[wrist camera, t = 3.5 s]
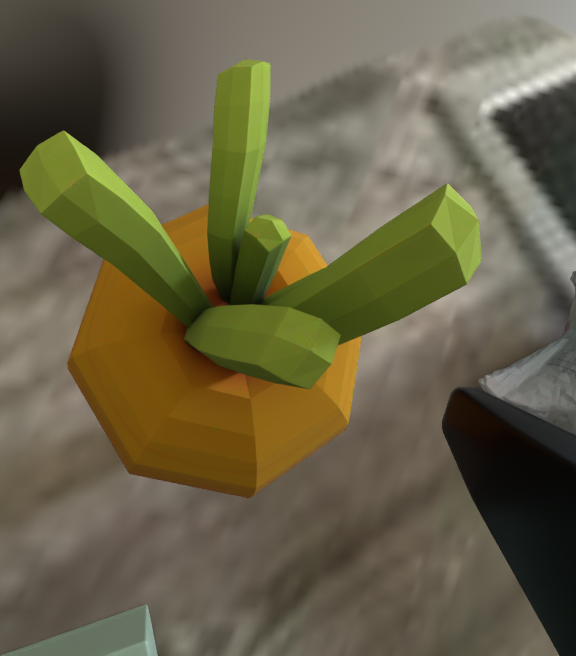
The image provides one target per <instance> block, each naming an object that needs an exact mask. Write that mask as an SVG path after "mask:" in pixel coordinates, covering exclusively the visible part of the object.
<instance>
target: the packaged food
mask: <svg viewBox="0 0 576 656" xmlns="http://www.w3.org/2000/svg"><path fill="white" fill-rule="evenodd" d="M570 280H571V281H572V282H573V283H574V286H575V299H574V300H573V301H572V303H571V310H570V313H569V317H568V321H567V324H566V327H565V330H564V332H563V335H562V336H561V338H559V339H557V340H556V341H554V342H552V343H550V344H549V345H547V346H545V347H543V348H541V349H539V350H538V351H536V352H534V353H532V354H531V355H529V356H527V357H525V358H523V359H521V360H519V361H517V362H515V363H513V364H512V365H511V366H509V367H508V368H503V369H499V370H495V371H494V372H493V374H490V375H485V376H484V378H480V379H479V381H478V382H479V384H480V386H481V388H482V389H483V390H484V391H485V392H487V393H489V394H491V395H493V396H495V397H497V398H499V399H501V400H503V401H506V402H508V403H510V404H512V405H514V406H516V407H518V408H520V409H522V410H524V411H526V412H528V413H530V414H532V415H535V416H537V417H539V418H541V419H543V420H545V421H547V422H549V423H551V424H553V425H555V426H557V427H559V428H562V429H564V430H566V431H568V432H570V433H572V434H574V435H576V271H574V272H573V274H572V276H571V278H570Z"/></svg>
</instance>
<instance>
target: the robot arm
mask: <svg viewBox="0 0 576 656" xmlns="http://www.w3.org/2000/svg"><path fill="white" fill-rule="evenodd" d="M442 429H443V433H444V436H445V438H446V440H447V443H448V445H449V447H450V449H451V452H452V454H453V456H454V459H455V461H456V463H457V465H458V468H459V470H460V472H461V475H462V477H463V479H464V482H465V484H466V486H467V488H468V491H469V493H470V495H471V497H472V499H473V501H474V503H475V505H476V507H477V509H478V511H479V512H480V514H481V516H482V518H483V519H484V521H485V523H486V525H487V527H488V528H489V530H490V532H491V534H492V536H493V537H494V539H495V541H496V543H497V545H498V546H499V548H500V550H501V552H502V553H503V555H504V557H505V559H506V561H507V562H508V564H509V566H510V568H511V570H512V571H513V573H514V575H515V577H516V578H517V580H518V582H519V584H520V586H521V587H522V589H523V591H524V593H525V595H526V596H527V598H528V600H529V602H530V604H531V605H532V607H533V609H534V611H535V612H536V614H537V616H538V618H539V620H540V621H541V623H542V625H543V627H544V629H545V630H546V632H547V634H548V636H549V637H550V639H551V641H552V643H553V645H554V646H555V648H556V650H557V652H558V654H559V655H560V656H576V435H574V434H572V433H570V432H568V431H566V430H564V429H562V428H559V427H557V426H555V425H553V424H551V423H549V422H547V421H545V420H543V419H541V418H539V417H537V416H535V415H532V414H530V413H528V412H526V411H524V410H522V409H520V408H518V407H516V406H514V405H512V404H510V403H508V402H506V401H503V400H501V399H499V398H497V397H495V396H493V395H491V394H489V393H487V392H485V391H483V390H481V389H479V388H476V387H458V388H456V389H454V390H453V391H452V392H451V395H450V398H449V401H448V404H447V407H446V410H445V413H444V416H443V420H442Z"/></svg>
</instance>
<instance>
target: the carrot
mask: <svg viewBox="0 0 576 656" xmlns="http://www.w3.org/2000/svg"><path fill="white" fill-rule="evenodd" d="M269 106H270V64H269V63H267V62H264V61H255V60H243V61H242V62H240V63H238V64H236V65H234V66H233V67H231V68H229V69H227V70H225V71H224V72H222V73H220V74H218V79H217V88H216V97H215V106H214V125H213V148H212V162H211V176H210V190H209V205H206V206H204V207H201V208H199V209H197V210H195V211H192V212H190V213H188V214H186V215H183V216H181V217H179V218H177V219H174V220H172V221H170V222H168V223H165V224H163V225H161V224H160V222H159V221H158V219H157V218H156V216H155V215H154V213H153V212H152V211H151V210H150V208H149V207H148V206H147V205H146V204H145V203H144V202H143V201H142V200H141V199H140V198H139V197H138V196H137V195H136V194H135V193H134V192H133V191H132V190H131V189H130V188H129V187H128V186H127V185H126V184H125V183H124V182H123V181H122V180H121V179H120V178H119V177H118V176H117V175H116V174H115V173H114V172H113V171H112V170H111V169H110V168H109V167H108V166H107V165H106V164H105V163H104V162H103V161H102V160H101V159H100V158H99V157H98V156H97V155H96V154H95V153H93V152H92V151H90V150H89V149H88V148H87V147H85V146H84V145H82V144H81V143H80V142H78V141H77V140H76V139H74V138H73V137H72V136H70V135H69V134H68V133H66V132H65V131H62V132H60V133H58V134H57V135H55V136H53V137H51V138H50V139H48V140H46V141H45V142H43V143H41V144H39V145H38V146H37V147H36V148H35V149H34V151H33V153H32V154H31V155H30V156H29V158H28V159H27V161H26V162H25V163H24V165H23V166H22V167H21V169H20V174H21V178H22V182H23V186H24V190H25V192H26V194H27V195H28V197H29V198H30V199H31V201H32V202H33V204H34V205H35V206H36V208H37V209H38V210H39V212H40V213H41V214H42V215H43V216H44V217H46V218H47V219H48V220H50V221H51V222H52V223H54V224H55V225H56V226H57V227H59V228H60V229H61V230H63V231H64V232H65V233H67V234H68V235H69V236H71V237H72V238H73V239H75V240H76V241H78V242H79V243H81V244H82V245H84V246H85V247H87V248H88V249H90V250H91V251H93V252H94V253H96V254H97V255H99V256H100V257H102V258H103V259H104V260H103V262H102V265H101V268H100V271H99V274H98V277H97V280H96V283H95V285H94V288H93V291H92V294H91V297H90V300H89V303H88V305H87V308H86V311H85V314H84V317H83V320H82V323H81V326H80V328H79V331H78V334H77V337H76V340H75V343H74V346H73V348H72V351H71V354H70V357H69V360H68V363H67V365H68V370H69V371H70V373H71V375H72V376H73V378H74V380H75V382H76V383H77V385H78V387H79V388H80V390H81V392H82V394H83V395H84V397H85V399H86V400H87V402H88V404H89V406H90V407H91V409H92V411H93V412H94V414H95V416H96V418H97V419H98V421H99V423H100V424H101V426H102V428H103V429H104V431H105V433H106V435H107V436H108V438H109V440H110V441H111V443H112V445H113V447H114V448H115V450H116V452H117V453H118V455H119V457H120V459H121V460H122V462H123V464H124V465H125V467H126V469H127V471H128V472H129V474H133V475H138V476H143V477H148V478H153V479H158V480H163V481H168V482H173V483H177V484H182V485H187V486H192V487H197V488H202V489H207V490H212V491H217V492H222V493H226V494H231V495H236V496H241V497H246V498H250V497H252V496H254V495H255V494H256V493H258V492H259V491H261V490H262V489H263V488H265V487H266V486H268V485H269V484H270V483H272V482H273V481H275V480H276V479H277V478H279V477H280V476H282V475H283V474H284V473H286V472H287V471H289V470H290V469H291V468H293V467H294V466H296V465H297V464H298V463H300V462H301V461H303V460H304V459H305V458H307V457H308V456H310V455H311V454H312V453H314V452H315V451H317V450H318V449H319V448H321V447H322V446H324V445H325V444H326V443H328V442H329V441H331V440H332V439H333V438H335V437H336V436H338V435H339V434H340V433H342V432H343V431H345V430H346V428H347V426H348V423H349V417H350V411H351V404H352V398H353V391H354V384H355V378H356V371H357V364H358V358H359V351H360V344H361V338H362V335H365V334H367V333H369V332H372V331H374V330H376V329H379V328H381V327H383V326H386V325H388V324H391V323H393V322H395V321H398V320H400V319H402V318H404V317H406V316H408V315H410V314H411V313H413V312H415V311H417V310H419V309H421V308H423V307H425V306H427V305H429V304H430V303H432V302H434V301H436V300H438V299H440V298H442V297H444V296H446V295H447V294H449V293H451V292H453V291H455V290H457V289H459V288H461V287H463V286H465V285H466V284H467V283H468V282H469V280H470V278H471V277H472V275H473V274H474V272H475V270H476V269H477V267H478V266H479V264H480V262H481V261H482V259H481V245H480V230H479V220H478V218H477V216H476V214H475V213H474V211H473V209H472V207H471V206H470V205H469V204H468V203H467V202H466V201H465V200H464V199H463V198H462V197H461V196H460V195H459V194H458V193H457V192H456V191H455V190H454V189H453V188H452V187H451V186H450V185H449V184H448V183H447V184H445V185H444V186H442V187H441V188H439V189H438V190H436V191H435V192H433V193H432V194H430V195H429V196H427V197H426V198H424V199H423V200H421V201H420V202H418V203H417V204H415V205H414V206H412V207H411V208H409V209H408V210H406V211H404V212H403V213H401V214H400V215H398V216H397V217H395V218H394V219H392V220H391V221H389V222H388V223H386V224H385V225H383V226H382V227H380V228H379V229H378V230H376V231H375V232H374V233H372V234H371V235H369V236H368V237H367V238H365V239H364V240H363V241H361V242H360V243H358V244H357V245H356V246H354V247H353V248H352V249H350V250H349V251H348V252H346V253H345V254H343V255H342V256H341V257H339V258H338V259H337V260H335V261H334V262H332V263H331V264H330V265H327V264H326V262H325V261H324V259H323V258H322V256H321V255H320V253H319V252H318V250H317V249H316V247H315V246H314V244H313V243H312V241H311V240H310V238H309V237H308V235H305V234H302V233H299V232H295V231H292V230H289V229H287V227H286V226H285V224H284V222H283V221H282V220H281V219H278V218H276V217H273V216H271V215H268V214H266V215H261V216H257V217H255V218H254V219H253V218H251V215H252V210H253V205H254V200H255V196H256V191H257V186H258V181H259V176H260V170H261V165H262V160H263V155H264V150H265V145H266V137H267V126H268V116H269Z"/></svg>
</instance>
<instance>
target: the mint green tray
mask: <svg viewBox="0 0 576 656" xmlns="http://www.w3.org/2000/svg"><path fill="white" fill-rule="evenodd" d="M0 656H158V655H157V650H156V645H155V639H154V634H153V629H152V624H151V619H150V614H149V608H148V605H147V604H145V605H142V606H139V607H136V608H133V609H130V610H128V611H125V612H122V613H119V614H116V615H113V616H111V617H108V618H105V619H102V620H99V621H96V622H94V623H91V624H88V625H85V626H82V627H79V628H77V629H74V630H71V631H68V632H65V633H62V634H60V635H57V636H54V637H51V638H48V639H45V640H43V641H40V642H37V643H34V644H31V645H28V646H26V647H23V648H20V649H17V650H14V651H11V652H8V653H6V654H3V655H0Z"/></svg>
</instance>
